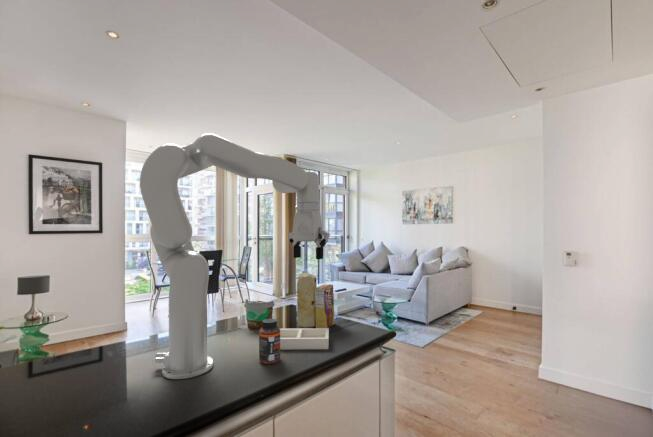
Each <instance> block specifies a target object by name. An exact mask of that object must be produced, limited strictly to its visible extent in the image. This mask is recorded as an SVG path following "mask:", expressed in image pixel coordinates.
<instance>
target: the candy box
mask: <svg viewBox="0 0 653 437" xmlns="http://www.w3.org/2000/svg"><path fill="white" fill-rule="evenodd" d="M334 298H335V296H334V284H330V283H329V284H327V283H325V284H322V285H320V286H317V288H315V313H316V326H315V328H329V329H330V327H332V326H333V325H335V323H336V322H335V321H336V320H335V299H334Z"/></svg>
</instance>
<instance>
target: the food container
mask: <svg viewBox="0 0 653 437" xmlns="http://www.w3.org/2000/svg"><path fill="white" fill-rule="evenodd" d="M243 303H244V304H243V307H244V308H245V313H246V322H247V328H248V329H249V330H252V331H253V330H254V331H255V330H256V331H260V329H261V328H262V327H263V325H262V324H263V320H265V319H273V310H274V307H275V305H276V304H275V301H274V300H270V301H262V300H256V301H252V300H249V299H248V298H246V299H245V300H244V302H243Z"/></svg>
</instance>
